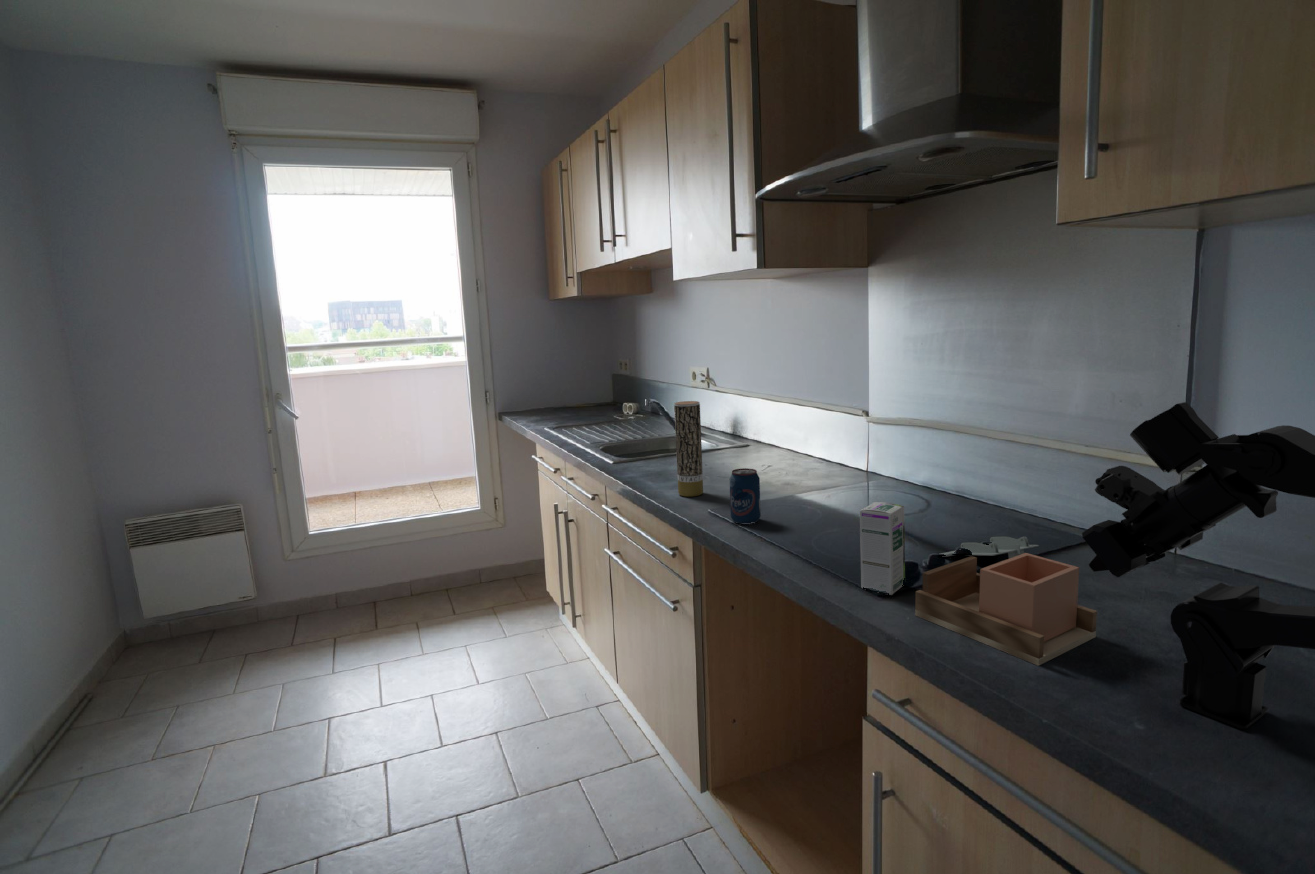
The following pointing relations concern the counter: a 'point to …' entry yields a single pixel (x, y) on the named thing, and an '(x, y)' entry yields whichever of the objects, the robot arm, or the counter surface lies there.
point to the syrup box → (882, 546)
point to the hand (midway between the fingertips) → (1092, 567)
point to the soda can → (745, 495)
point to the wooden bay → (957, 608)
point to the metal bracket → (997, 547)
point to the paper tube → (688, 448)
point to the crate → (1031, 594)
